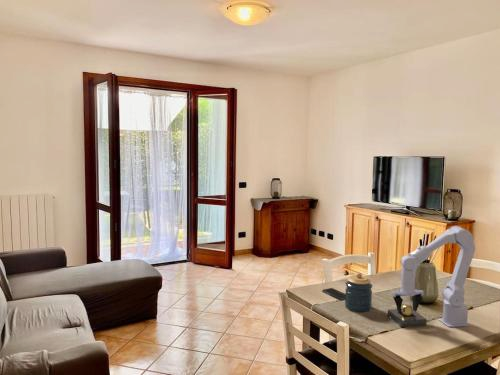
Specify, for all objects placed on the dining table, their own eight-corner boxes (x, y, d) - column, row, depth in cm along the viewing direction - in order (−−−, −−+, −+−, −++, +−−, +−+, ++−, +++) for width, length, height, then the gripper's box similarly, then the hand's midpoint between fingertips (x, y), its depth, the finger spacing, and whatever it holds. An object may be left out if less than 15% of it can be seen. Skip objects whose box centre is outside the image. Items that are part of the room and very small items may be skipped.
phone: (340, 299, 197) (321, 290, 210) (340, 301, 197) (321, 292, 210) (351, 296, 201) (332, 287, 214) (351, 298, 201) (332, 289, 214)
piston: (407, 318, 176) (408, 304, 175) (413, 322, 172) (413, 307, 171) (400, 319, 175) (400, 304, 175) (405, 322, 171) (405, 307, 171)
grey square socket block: (411, 314, 180) (411, 308, 180) (426, 325, 169) (426, 319, 168) (387, 315, 179) (387, 309, 179) (400, 327, 167) (401, 320, 167)
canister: (373, 313, 181) (374, 278, 179) (345, 311, 183) (346, 276, 182) (370, 303, 194) (371, 269, 192) (344, 301, 196) (345, 268, 195)
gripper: (397, 285, 167) (396, 315, 168) (427, 284, 169) (426, 313, 170) (389, 280, 174) (388, 308, 175) (419, 279, 176) (417, 307, 177)
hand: (406, 310), depth 173 cm, fingers open, 7 cm apart
